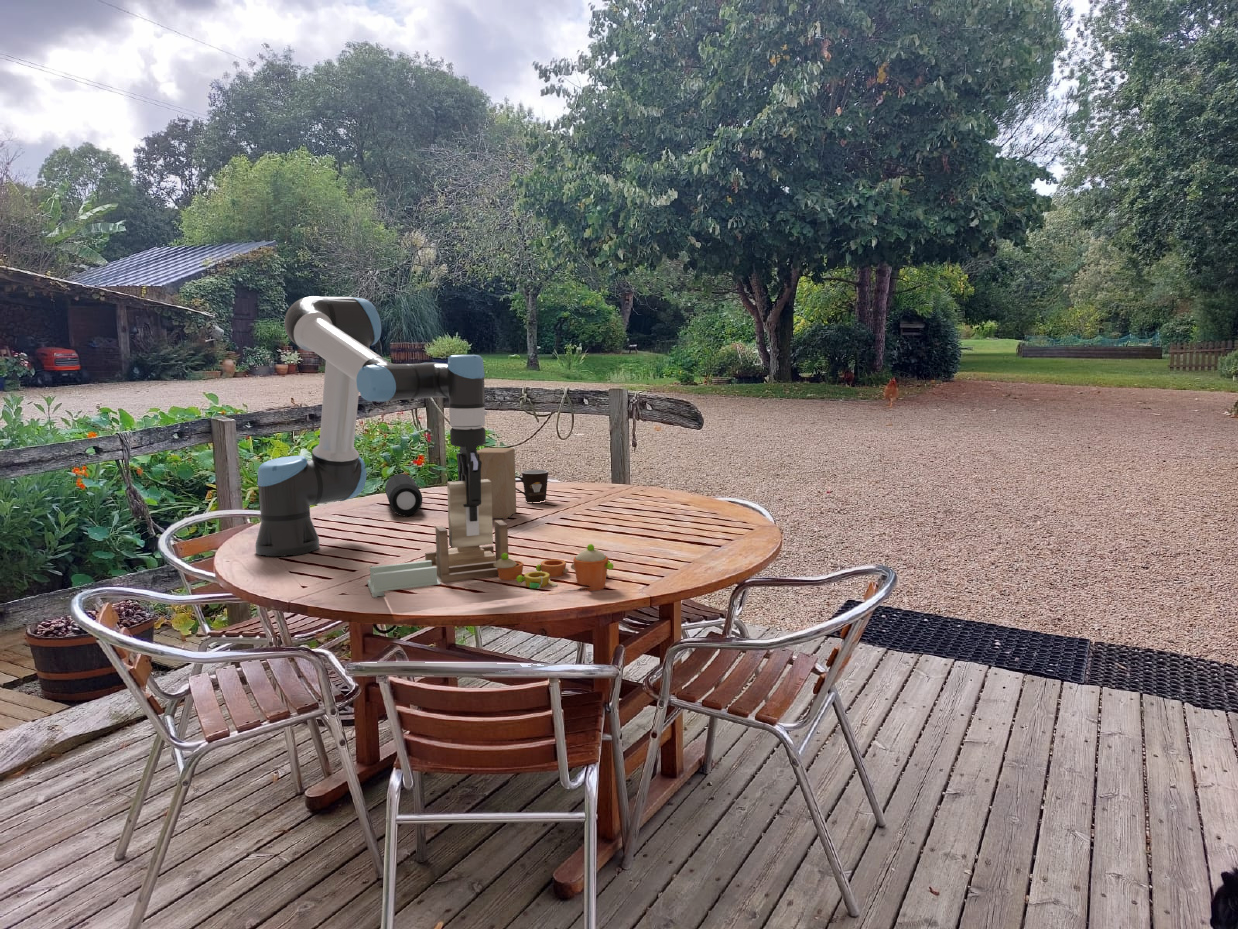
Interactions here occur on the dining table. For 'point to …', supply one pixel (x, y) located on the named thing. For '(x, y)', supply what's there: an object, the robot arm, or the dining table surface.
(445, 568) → the rack
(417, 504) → the portable speaker
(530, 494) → the coffee mug
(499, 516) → the wooden block
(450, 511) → the birch block
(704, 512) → the dining table surface
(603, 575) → the toy tea set
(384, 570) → the stand
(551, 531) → the dining table surface
